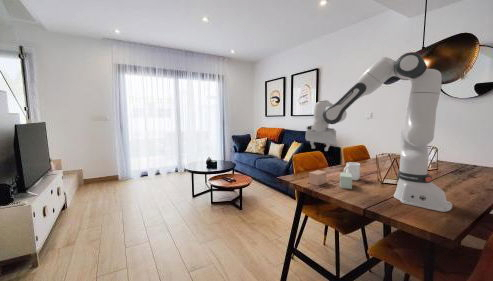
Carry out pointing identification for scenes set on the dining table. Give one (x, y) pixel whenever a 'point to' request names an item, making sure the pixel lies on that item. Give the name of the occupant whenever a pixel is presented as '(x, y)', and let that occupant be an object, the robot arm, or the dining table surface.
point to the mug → (353, 170)
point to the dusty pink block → (317, 177)
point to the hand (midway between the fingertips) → (319, 149)
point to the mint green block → (345, 180)
